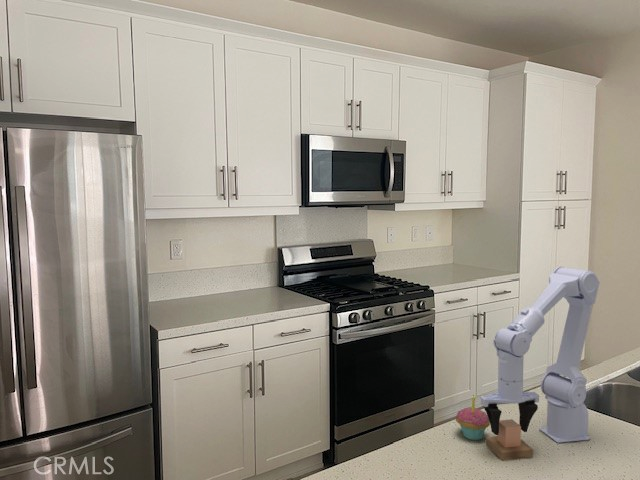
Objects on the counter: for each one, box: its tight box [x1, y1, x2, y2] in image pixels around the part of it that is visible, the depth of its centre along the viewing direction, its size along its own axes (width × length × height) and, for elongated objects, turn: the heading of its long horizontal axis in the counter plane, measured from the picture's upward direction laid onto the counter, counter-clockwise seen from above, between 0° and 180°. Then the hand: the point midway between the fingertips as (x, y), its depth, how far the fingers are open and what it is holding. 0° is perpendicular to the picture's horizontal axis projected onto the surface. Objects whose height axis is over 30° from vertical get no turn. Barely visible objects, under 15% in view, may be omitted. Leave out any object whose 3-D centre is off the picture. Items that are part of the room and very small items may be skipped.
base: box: [485, 435, 534, 461], centre depth 126 cm, size 8×8×2 cm
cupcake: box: [455, 394, 491, 441], centre depth 134 cm, size 9×8×12 cm
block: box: [496, 419, 522, 448], centre depth 126 cm, size 4×4×5 cm
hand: (509, 431), depth 126 cm, fingers open, 7 cm apart
